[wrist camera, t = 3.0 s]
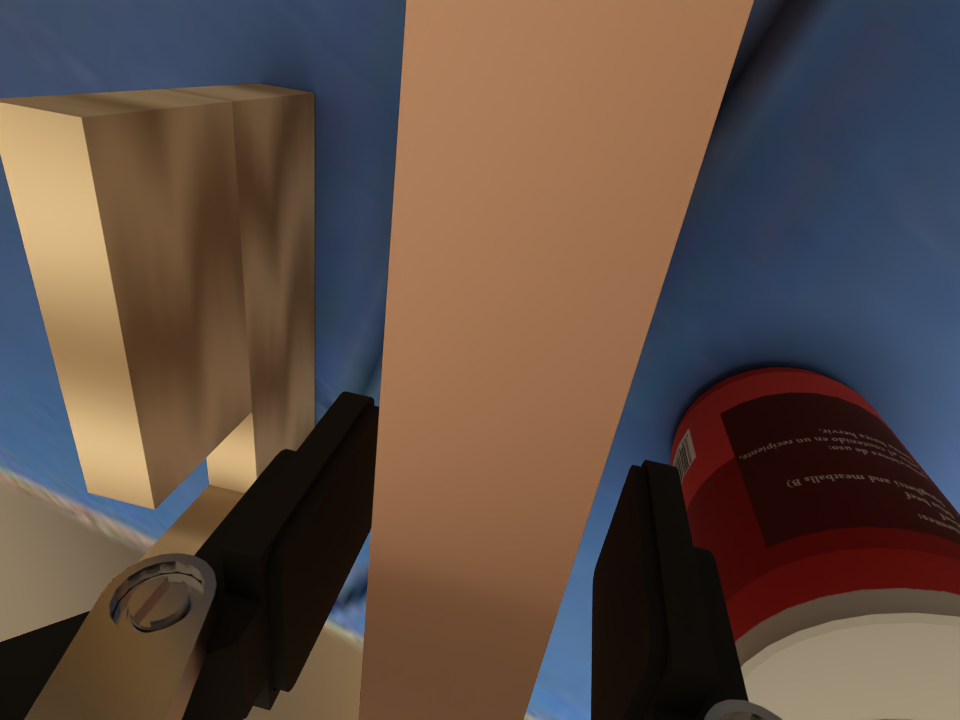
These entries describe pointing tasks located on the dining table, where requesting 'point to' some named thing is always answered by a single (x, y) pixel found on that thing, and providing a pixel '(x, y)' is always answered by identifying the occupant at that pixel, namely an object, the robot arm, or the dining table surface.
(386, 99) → the dining table surface
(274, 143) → the oak board
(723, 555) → the canned food
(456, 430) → the terracotta plate
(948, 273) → the dining table surface
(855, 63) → the dining table surface
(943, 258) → the dining table surface
